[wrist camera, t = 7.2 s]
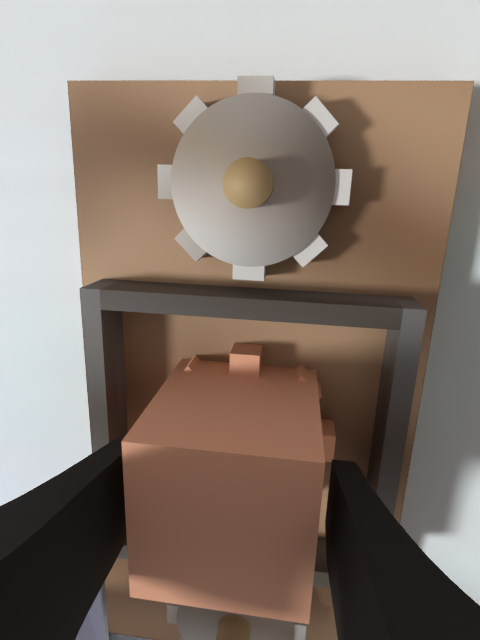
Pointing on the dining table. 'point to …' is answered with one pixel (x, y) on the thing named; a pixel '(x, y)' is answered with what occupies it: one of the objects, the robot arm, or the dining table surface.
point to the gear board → (264, 268)
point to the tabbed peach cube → (228, 487)
